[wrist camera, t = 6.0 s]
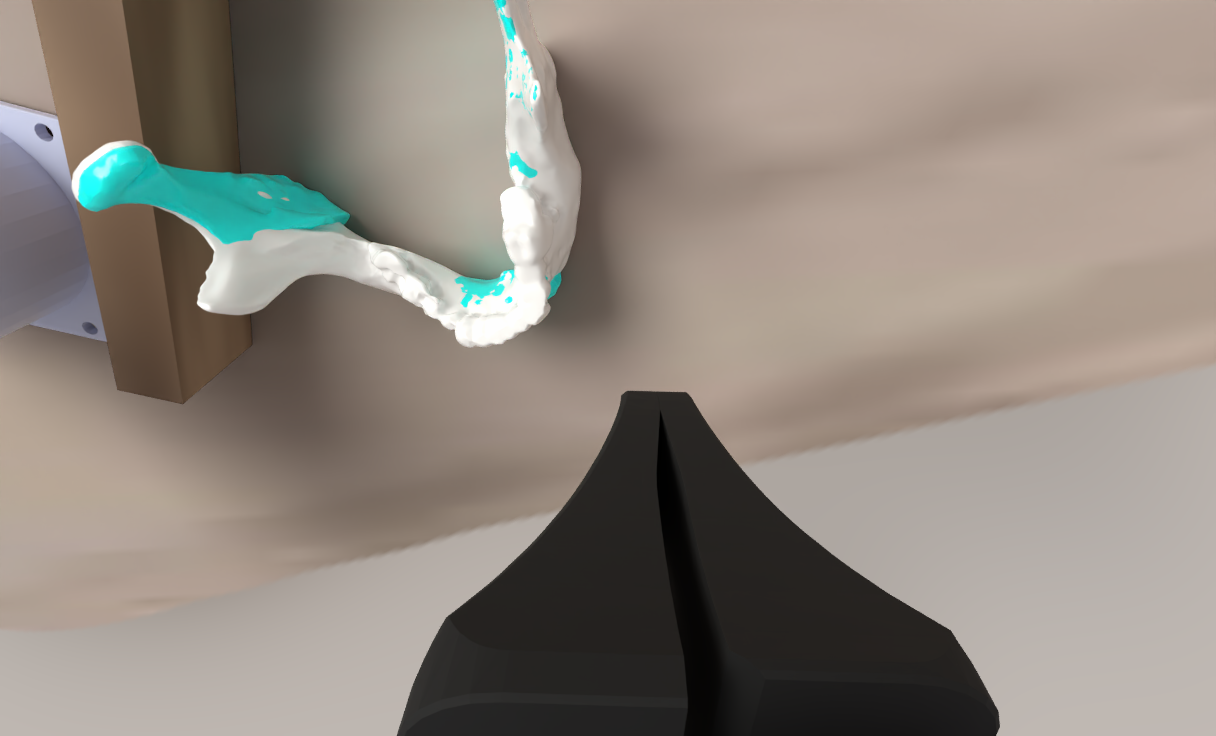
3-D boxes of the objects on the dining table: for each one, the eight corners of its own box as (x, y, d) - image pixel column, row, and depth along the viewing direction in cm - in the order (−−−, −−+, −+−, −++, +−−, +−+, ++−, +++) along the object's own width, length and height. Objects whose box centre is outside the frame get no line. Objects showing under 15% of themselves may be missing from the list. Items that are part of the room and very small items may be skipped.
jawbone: (423, 390, 22) (207, 475, 13) (330, 204, 22) (41, 165, 13) (708, 248, 19) (667, 237, 10) (603, 21, 18) (462, -203, 9)
